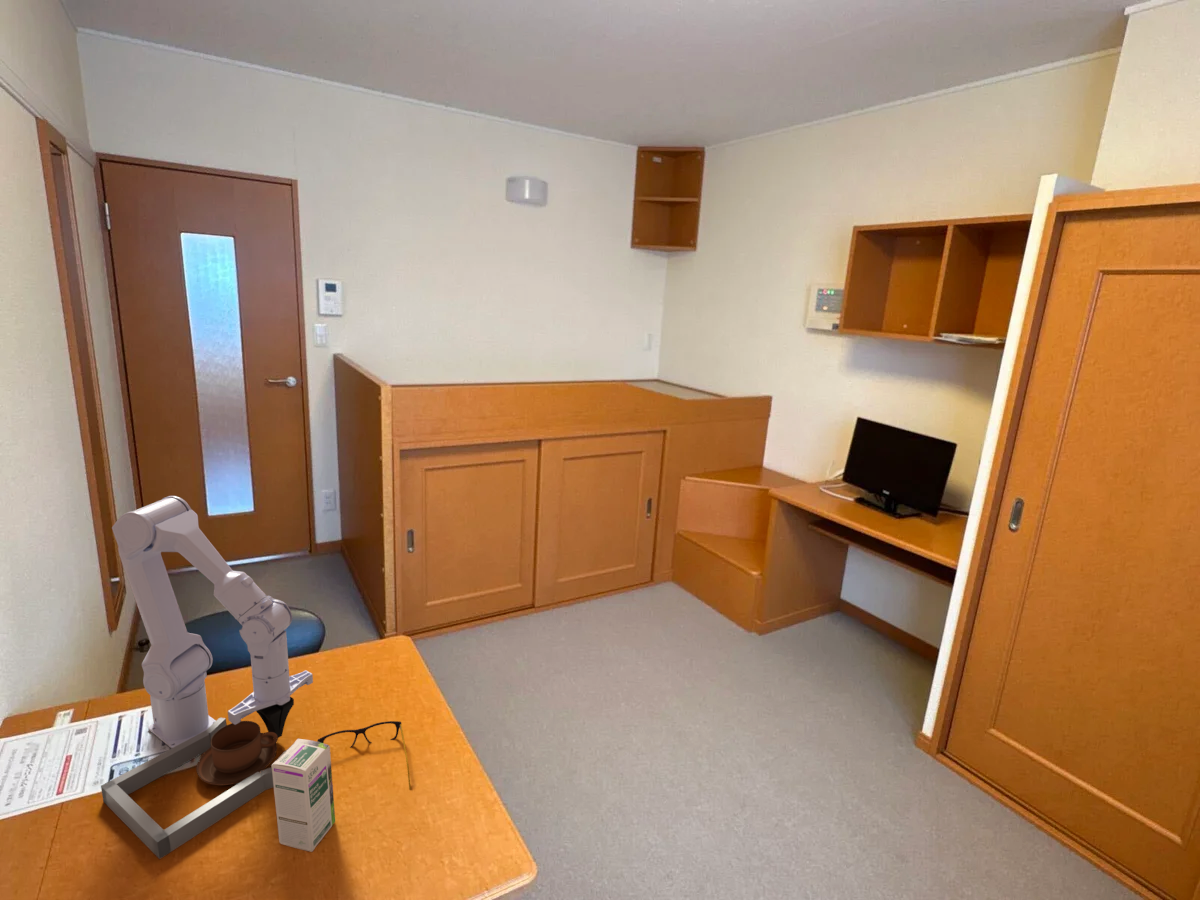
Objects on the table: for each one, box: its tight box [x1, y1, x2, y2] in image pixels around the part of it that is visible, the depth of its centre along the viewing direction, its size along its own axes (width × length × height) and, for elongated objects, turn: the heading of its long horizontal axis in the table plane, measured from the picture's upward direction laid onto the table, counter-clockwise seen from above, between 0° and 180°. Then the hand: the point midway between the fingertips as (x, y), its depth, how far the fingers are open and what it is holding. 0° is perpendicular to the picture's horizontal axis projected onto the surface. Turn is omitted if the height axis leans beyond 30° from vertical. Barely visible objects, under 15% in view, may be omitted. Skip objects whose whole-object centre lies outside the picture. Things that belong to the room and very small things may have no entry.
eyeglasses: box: [316, 720, 412, 791], centre depth 107 cm, size 14×14×4 cm
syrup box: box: [271, 738, 336, 853], centre depth 93 cm, size 6×6×14 cm
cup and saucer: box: [196, 720, 279, 786], centre depth 106 cm, size 12×12×6 cm
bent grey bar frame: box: [100, 717, 274, 860], centre depth 101 cm, size 21×19×3 cm
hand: (275, 735), depth 112 cm, fingers closed
